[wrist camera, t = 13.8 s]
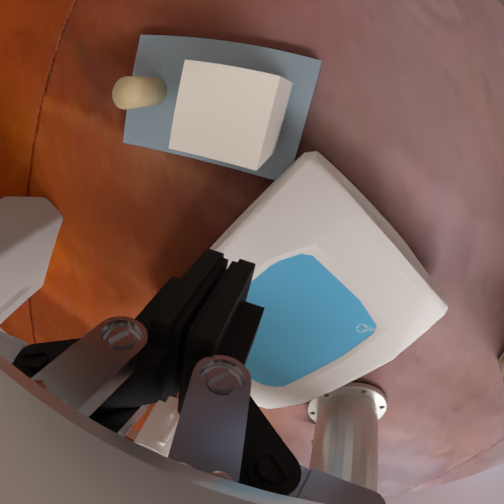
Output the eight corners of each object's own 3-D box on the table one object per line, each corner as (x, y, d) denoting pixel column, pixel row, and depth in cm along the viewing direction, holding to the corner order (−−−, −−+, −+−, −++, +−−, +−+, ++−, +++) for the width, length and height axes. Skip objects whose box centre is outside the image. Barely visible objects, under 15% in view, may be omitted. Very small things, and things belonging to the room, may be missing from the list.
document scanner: (159, 301, 41) (138, 333, 35) (311, 142, 27) (308, 156, 21) (274, 385, 45) (266, 419, 39) (439, 285, 30) (454, 322, 25)
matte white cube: (274, 152, 26) (256, 170, 20) (206, 134, 27) (168, 148, 20) (292, 83, 23) (280, 75, 17) (221, 68, 24) (185, 59, 17)
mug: (181, 417, 56) (159, 464, 46) (153, 400, 55) (128, 446, 45) (204, 403, 51) (181, 457, 41) (173, 383, 50) (145, 437, 40)
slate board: (289, 180, 30) (279, 201, 24) (130, 140, 31) (93, 152, 26) (321, 62, 24) (320, 51, 18) (148, 36, 25) (111, 28, 20)
